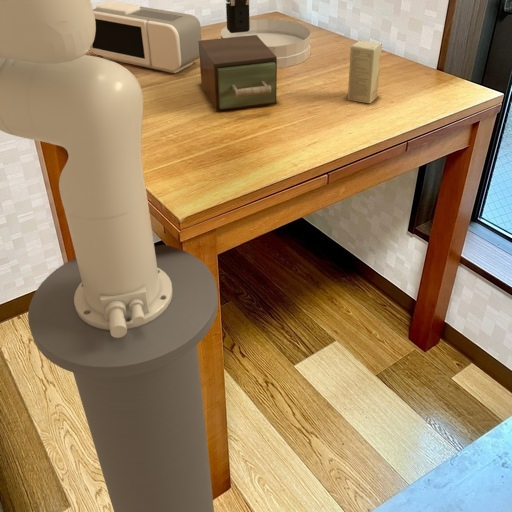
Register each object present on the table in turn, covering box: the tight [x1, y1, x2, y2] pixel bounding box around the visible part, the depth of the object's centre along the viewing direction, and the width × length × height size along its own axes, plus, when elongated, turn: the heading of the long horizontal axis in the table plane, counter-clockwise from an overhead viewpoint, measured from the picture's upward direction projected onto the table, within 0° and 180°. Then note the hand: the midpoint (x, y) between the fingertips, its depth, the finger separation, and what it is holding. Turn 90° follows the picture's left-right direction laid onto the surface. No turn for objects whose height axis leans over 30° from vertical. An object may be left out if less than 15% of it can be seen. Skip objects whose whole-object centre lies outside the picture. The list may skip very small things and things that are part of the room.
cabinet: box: [198, 35, 278, 112], centre depth 123 cm, size 15×13×10 cm
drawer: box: [217, 62, 277, 109], centre depth 120 cm, size 18×11×8 cm, turn 16°
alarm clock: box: [89, 0, 203, 74], centre depth 139 cm, size 27×9×12 cm, turn 60°
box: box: [347, 40, 383, 104], centre depth 120 cm, size 5×4×11 cm
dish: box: [220, 18, 312, 69], centre depth 145 cm, size 22×22×5 cm
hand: (238, 30), depth 92 cm, fingers closed
